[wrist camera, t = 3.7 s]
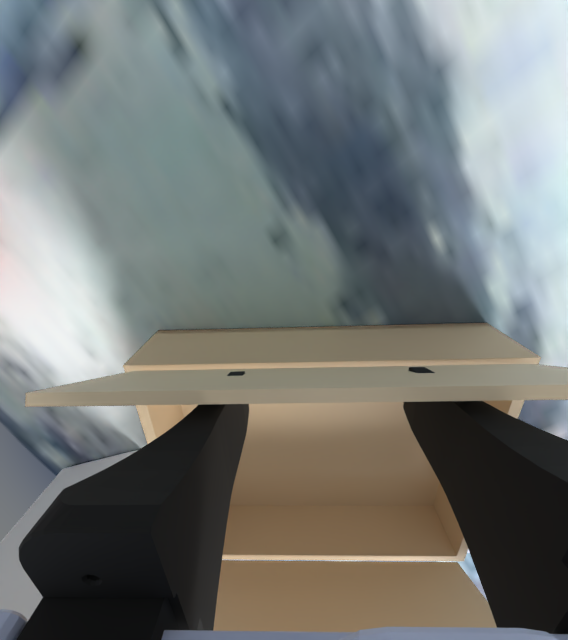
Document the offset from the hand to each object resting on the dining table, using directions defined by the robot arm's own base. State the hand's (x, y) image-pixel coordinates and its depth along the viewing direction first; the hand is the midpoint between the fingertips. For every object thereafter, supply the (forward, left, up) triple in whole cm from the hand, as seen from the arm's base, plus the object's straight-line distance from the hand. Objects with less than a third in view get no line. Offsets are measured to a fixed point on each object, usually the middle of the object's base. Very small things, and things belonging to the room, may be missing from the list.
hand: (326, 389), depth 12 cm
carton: (0, +8, -6) cm, 10 cm away
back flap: (0, +15, +1) cm, 15 cm away
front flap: (0, -1, +1) cm, 1 cm away
